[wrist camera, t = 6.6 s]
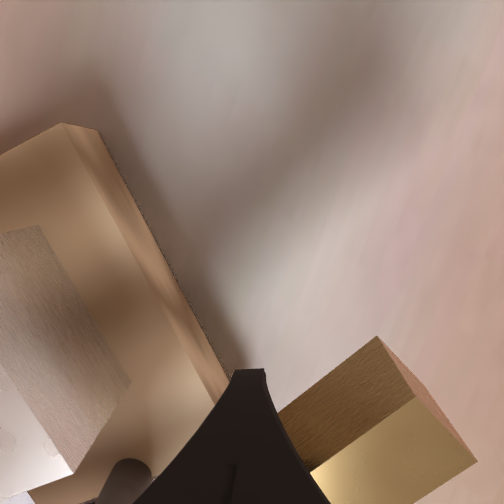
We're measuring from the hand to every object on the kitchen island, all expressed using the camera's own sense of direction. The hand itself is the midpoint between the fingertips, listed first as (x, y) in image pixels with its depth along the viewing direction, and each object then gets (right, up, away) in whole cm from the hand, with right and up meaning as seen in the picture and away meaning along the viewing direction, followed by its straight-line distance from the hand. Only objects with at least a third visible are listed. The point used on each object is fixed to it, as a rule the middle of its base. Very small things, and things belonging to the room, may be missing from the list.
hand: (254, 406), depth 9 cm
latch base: (-9, 0, +10) cm, 14 cm away
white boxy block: (-9, 0, +7) cm, 12 cm away
